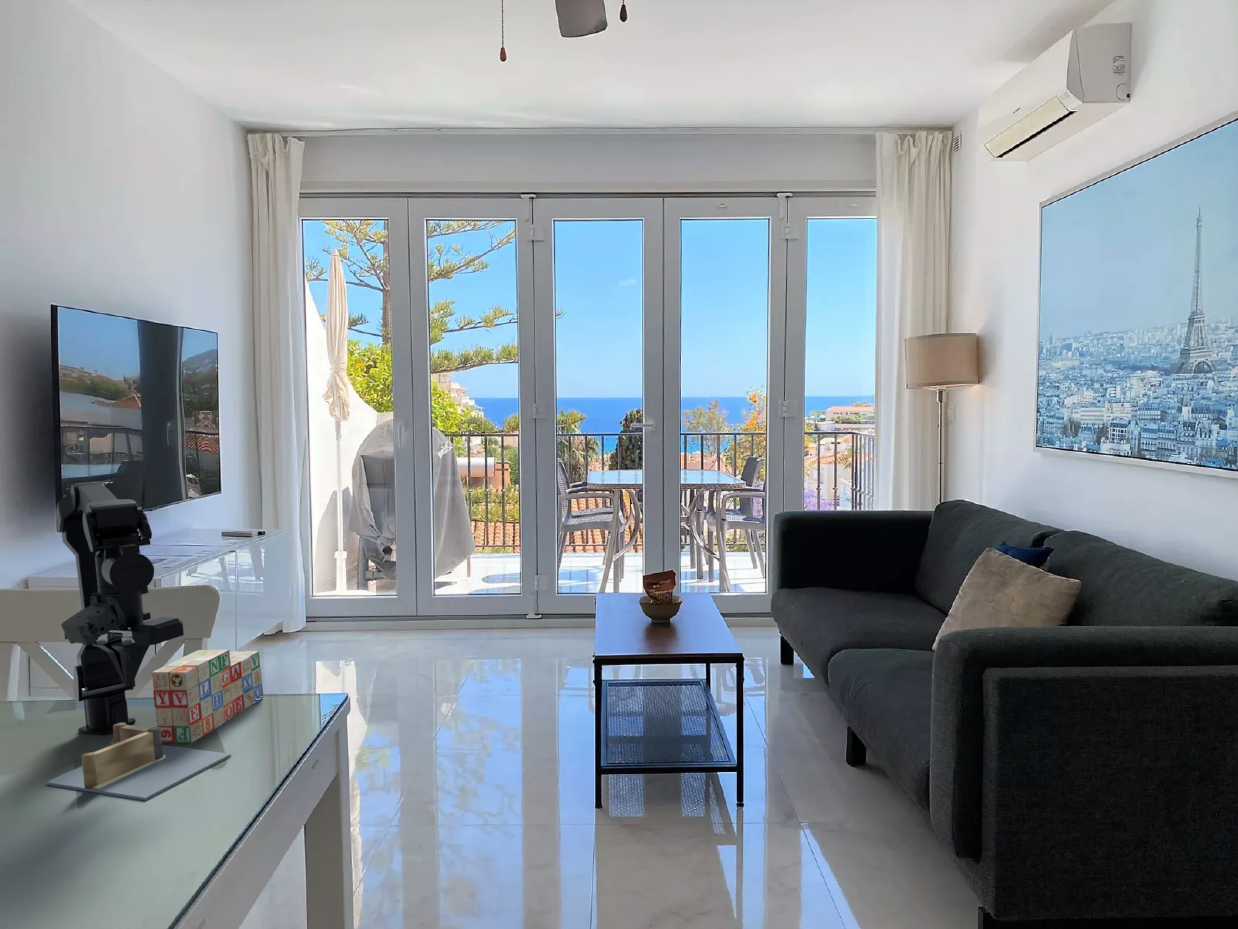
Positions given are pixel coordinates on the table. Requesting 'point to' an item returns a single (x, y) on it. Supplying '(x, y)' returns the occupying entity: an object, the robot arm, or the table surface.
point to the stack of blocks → (204, 692)
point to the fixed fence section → (126, 731)
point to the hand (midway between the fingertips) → (128, 683)
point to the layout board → (148, 774)
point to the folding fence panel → (121, 757)
